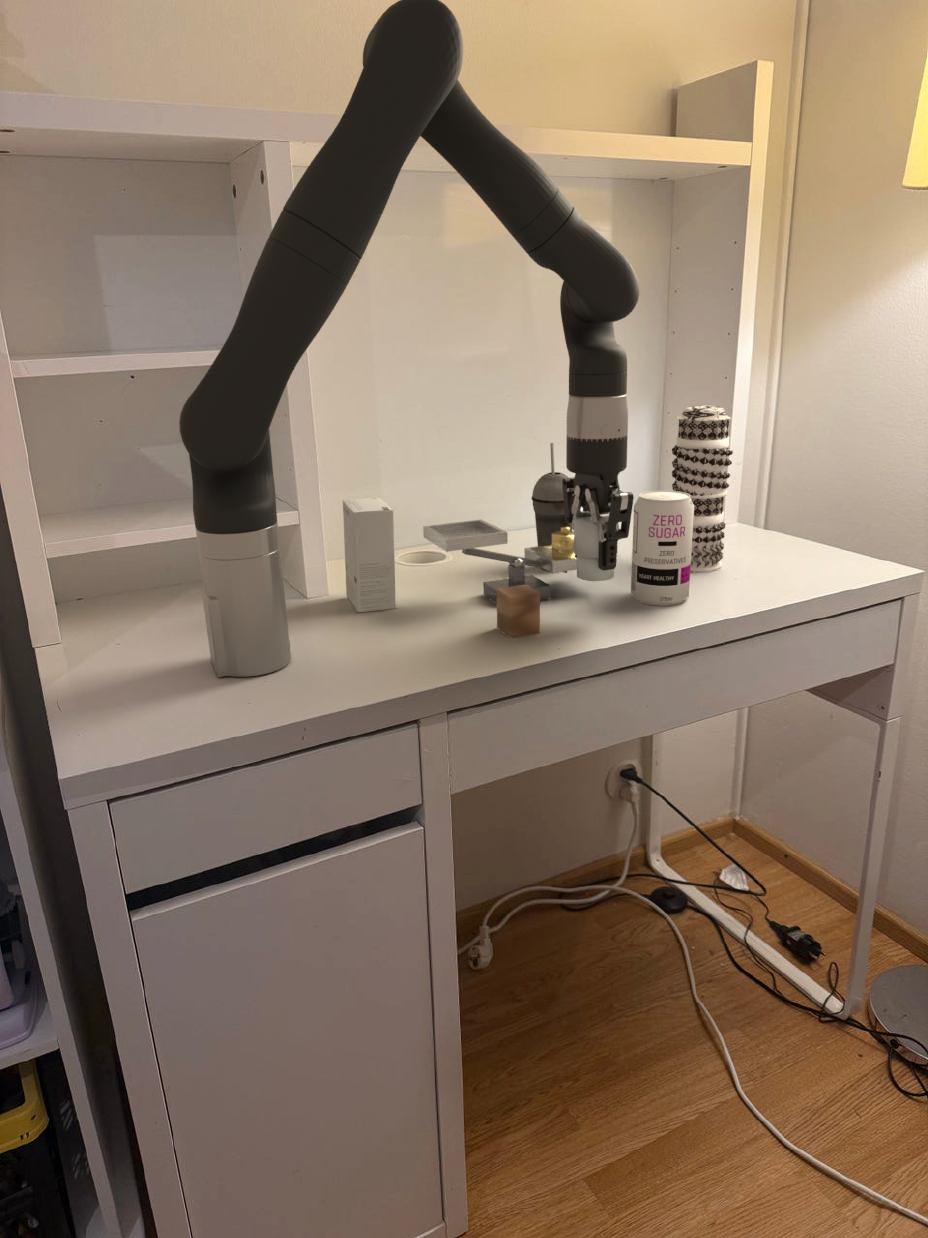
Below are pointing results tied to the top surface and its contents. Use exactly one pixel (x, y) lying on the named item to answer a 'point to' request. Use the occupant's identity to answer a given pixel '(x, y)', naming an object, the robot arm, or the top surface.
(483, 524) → the balance
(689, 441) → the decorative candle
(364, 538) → the skincare box
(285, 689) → the top surface
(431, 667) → the top surface
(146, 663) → the top surface
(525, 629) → the walnut block
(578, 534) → the white stepped cylinder
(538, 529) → the beverage cup
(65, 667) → the top surface
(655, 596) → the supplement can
